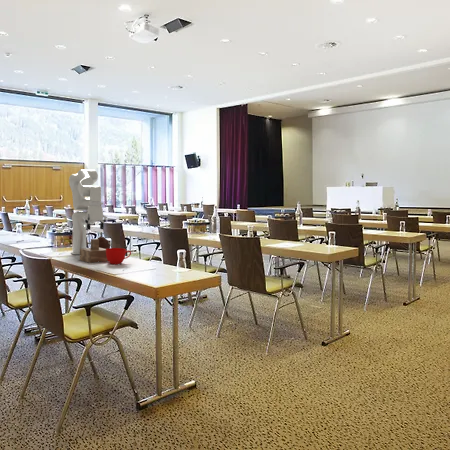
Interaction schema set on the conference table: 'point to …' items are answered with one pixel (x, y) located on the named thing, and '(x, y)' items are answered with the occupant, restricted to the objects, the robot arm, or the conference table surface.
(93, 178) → the robot arm
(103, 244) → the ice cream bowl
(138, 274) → the conference table surface
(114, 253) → the ceramic cup
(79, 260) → the mat
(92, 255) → the brown block with knob
